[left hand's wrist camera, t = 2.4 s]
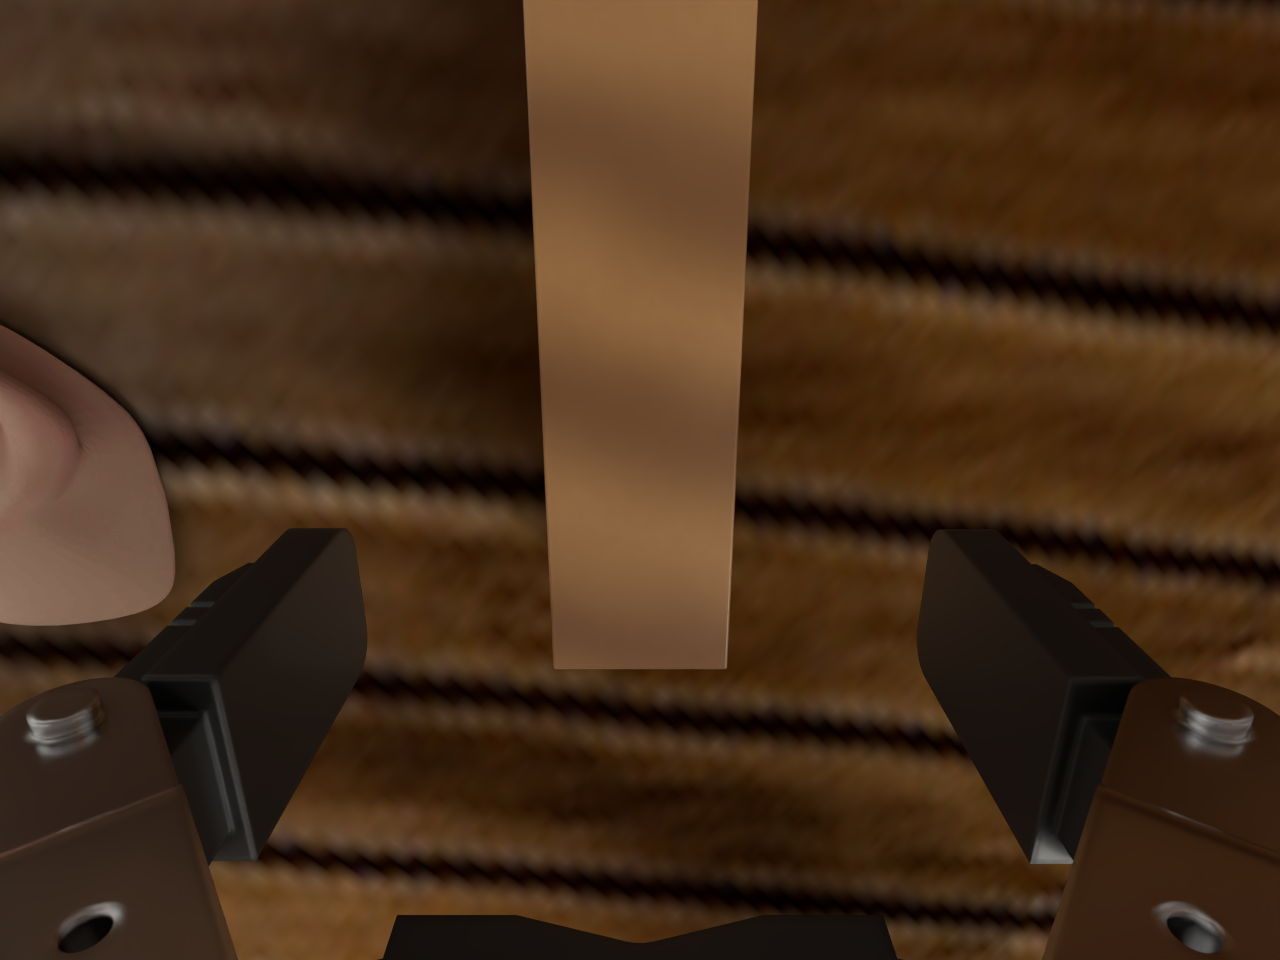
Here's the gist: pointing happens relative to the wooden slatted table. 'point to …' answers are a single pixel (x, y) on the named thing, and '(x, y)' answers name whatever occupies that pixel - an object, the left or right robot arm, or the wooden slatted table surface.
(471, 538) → the wooden slatted table surface
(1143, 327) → the wooden slatted table surface
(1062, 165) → the wooden slatted table surface
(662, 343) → the post
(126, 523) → the anatomical model
